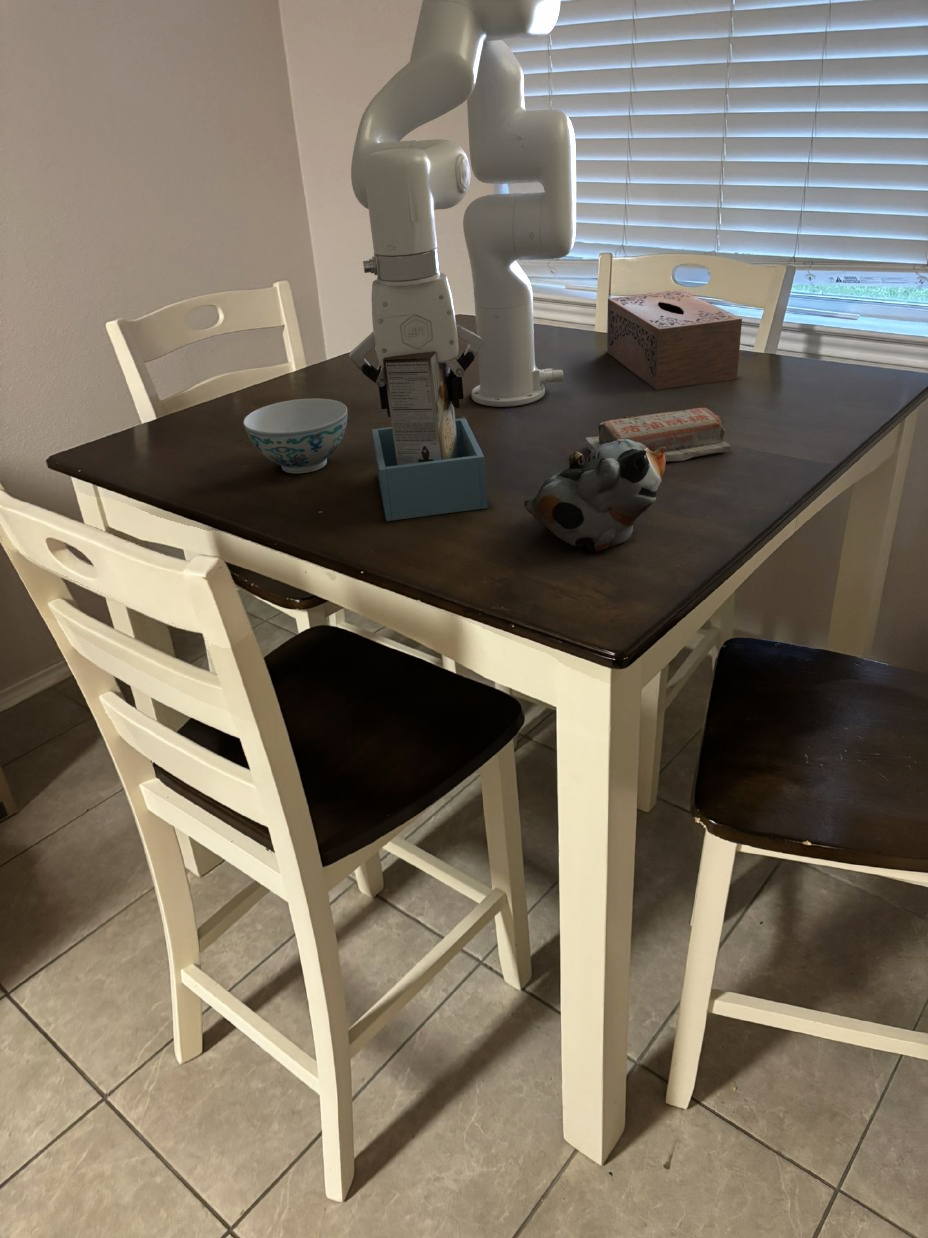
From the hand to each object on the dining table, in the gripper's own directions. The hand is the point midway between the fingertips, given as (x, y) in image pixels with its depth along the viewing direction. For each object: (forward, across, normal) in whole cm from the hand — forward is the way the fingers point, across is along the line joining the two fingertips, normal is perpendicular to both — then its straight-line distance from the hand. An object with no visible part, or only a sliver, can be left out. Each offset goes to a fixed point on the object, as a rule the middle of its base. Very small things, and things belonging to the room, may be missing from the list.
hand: (423, 408), depth 115 cm
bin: (+11, 0, -1) cm, 11 cm away
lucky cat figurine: (+11, +18, -19) cm, 28 cm away
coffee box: (+8, 0, 0) cm, 8 cm away
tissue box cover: (+13, +49, +43) cm, 66 cm away
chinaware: (+12, -17, +15) cm, 26 cm away
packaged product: (+12, +33, +3) cm, 35 cm away
